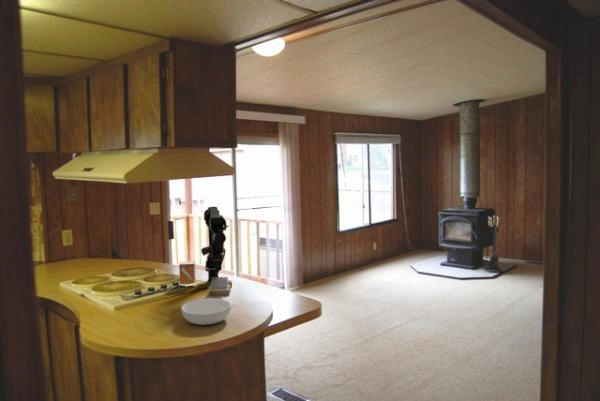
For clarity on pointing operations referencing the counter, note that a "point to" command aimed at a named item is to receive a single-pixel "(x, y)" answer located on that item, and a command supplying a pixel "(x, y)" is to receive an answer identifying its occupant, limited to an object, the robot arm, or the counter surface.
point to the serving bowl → (206, 311)
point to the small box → (187, 272)
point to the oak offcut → (230, 283)
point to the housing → (219, 282)
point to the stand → (219, 291)
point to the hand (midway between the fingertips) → (218, 270)
